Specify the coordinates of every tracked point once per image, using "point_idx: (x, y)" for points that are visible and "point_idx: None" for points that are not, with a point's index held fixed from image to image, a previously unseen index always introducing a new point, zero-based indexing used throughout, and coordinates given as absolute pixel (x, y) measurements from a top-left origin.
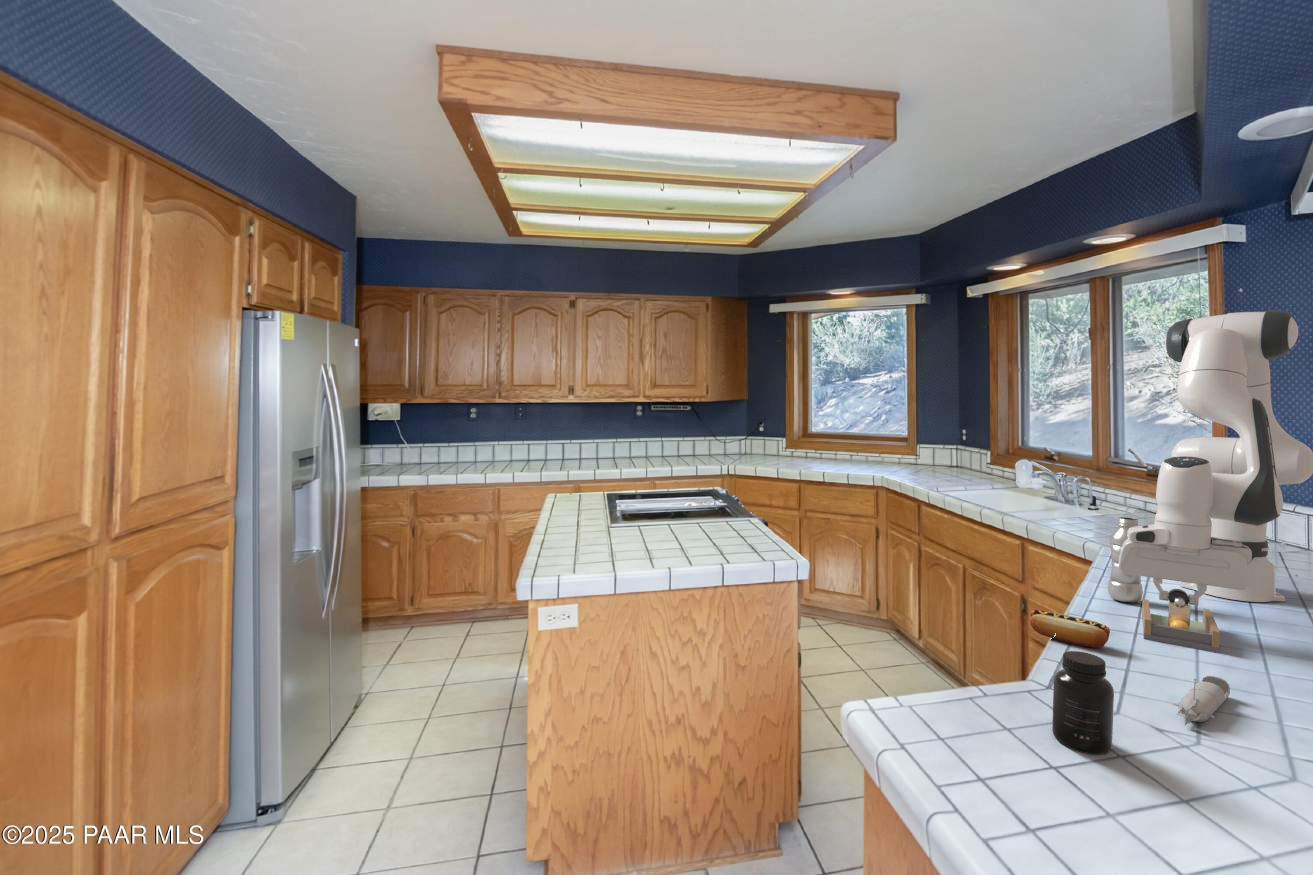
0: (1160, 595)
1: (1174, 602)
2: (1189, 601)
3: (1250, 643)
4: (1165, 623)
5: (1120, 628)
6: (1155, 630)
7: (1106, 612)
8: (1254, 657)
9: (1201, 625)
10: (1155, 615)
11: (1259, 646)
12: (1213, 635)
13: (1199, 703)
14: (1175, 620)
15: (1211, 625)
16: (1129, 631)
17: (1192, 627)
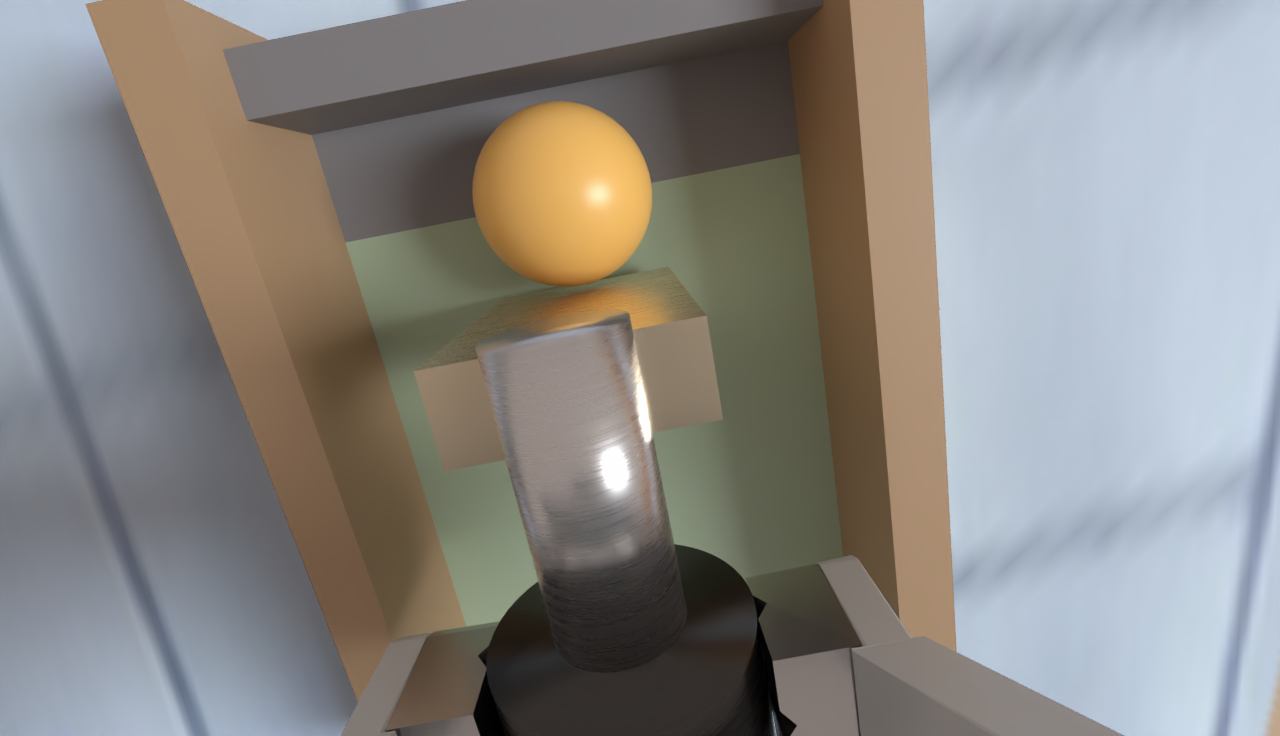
0: (867, 588)
1: (649, 422)
2: (489, 643)
3: (191, 565)
4: (713, 489)
5: (1009, 147)
6: None
7: (1113, 549)
8: (51, 195)
9: None
10: None
11: (129, 539)
12: (193, 9)
13: None
14: (599, 189)
15: (250, 272)
16: (937, 113)
17: None
